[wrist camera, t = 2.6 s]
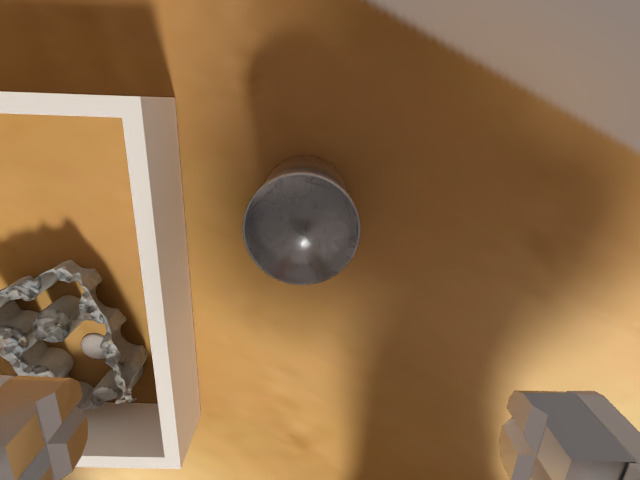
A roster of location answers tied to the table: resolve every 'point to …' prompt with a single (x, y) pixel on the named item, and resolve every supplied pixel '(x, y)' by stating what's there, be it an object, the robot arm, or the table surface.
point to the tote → (144, 282)
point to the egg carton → (57, 323)
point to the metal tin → (302, 222)
